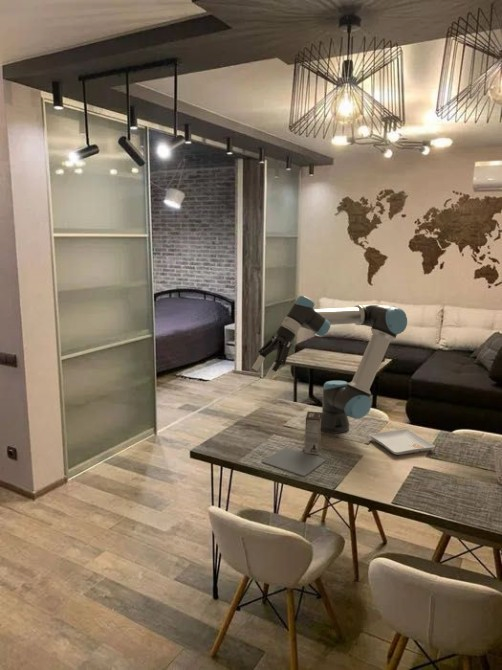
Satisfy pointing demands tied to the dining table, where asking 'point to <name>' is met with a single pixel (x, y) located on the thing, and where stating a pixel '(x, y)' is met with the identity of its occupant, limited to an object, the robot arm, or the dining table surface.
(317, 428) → the coffee box
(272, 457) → the mat
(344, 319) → the robot arm
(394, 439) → the salad plate
